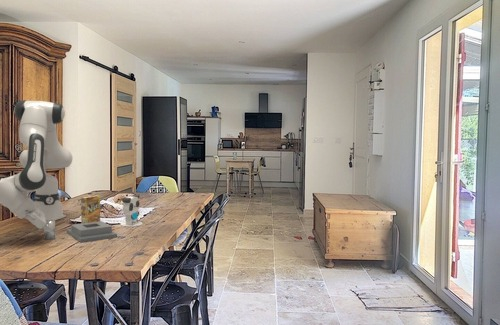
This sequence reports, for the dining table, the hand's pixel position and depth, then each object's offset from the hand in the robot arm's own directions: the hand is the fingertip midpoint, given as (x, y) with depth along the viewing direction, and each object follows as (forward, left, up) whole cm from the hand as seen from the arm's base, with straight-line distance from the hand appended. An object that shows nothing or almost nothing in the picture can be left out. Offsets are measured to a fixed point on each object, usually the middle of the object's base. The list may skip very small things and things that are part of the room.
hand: (51, 228), depth 176 cm
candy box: (-16, +22, -5) cm, 28 cm away
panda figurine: (-7, +40, -5) cm, 41 cm away
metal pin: (0, -1, -4) cm, 4 cm away
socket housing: (+4, +16, -4) cm, 17 cm away
